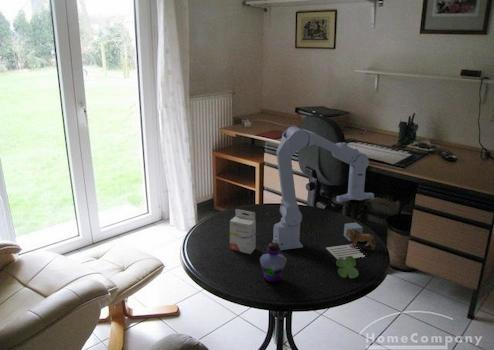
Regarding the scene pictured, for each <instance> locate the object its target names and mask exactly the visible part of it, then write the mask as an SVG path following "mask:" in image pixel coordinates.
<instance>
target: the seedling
mask: <svg viewBox="0 0 494 350" xmlns="http://www.w3.org/2000/svg"><path fill="white" fill-rule="evenodd" d="M335 264H336V266H337V267H338V269H337V274H338V275H339V276H340V277H341V278H347V277H349V278H350V279H355V278H357V277H358V276H359V274H360V273H359V270H358V269H357V268H356V265H357V262H356V258H353V257H351V256H347V257H346V260H345V259H343V258H338V259H336V262H335Z"/></svg>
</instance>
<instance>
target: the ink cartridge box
mask: <svg viewBox="0 0 494 350" xmlns="http://www.w3.org/2000/svg"><path fill="white" fill-rule="evenodd" d="M234 211H235V216H234V217H233V218H231V219H230V220H229V250H232V251H236V252H241V253H244V254H249V255H251V254H252V253H253V252H254V250H255V249H256V240H257V239H256V238H257V237H256V233H257V230H256V226H257V225H256V223H257V220H256V212H254V211H249V210H243V209H238V208H235V210H234ZM246 214H247V215H246Z"/></svg>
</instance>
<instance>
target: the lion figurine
mask: <svg viewBox="0 0 494 350" xmlns="http://www.w3.org/2000/svg"><path fill="white" fill-rule="evenodd" d="M346 236H347V237H348V238H349V239H350V240H351V241H350V242H351V244H352V245H354V246H353V247H354V248H355V247H356V245H357V243H358V242H366V241H367V243H366V244H364V246H365V247H368V246H371V248H370V249H372V250H371V251H374V250H375V248H378V245H376V242H375V237H374V236H373V235H372V234H370V233H362V234H361V233H359V232H358V231H357V230H355V229H353V228H349V229H347V231H346Z"/></svg>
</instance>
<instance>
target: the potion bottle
mask: <svg viewBox="0 0 494 350" xmlns="http://www.w3.org/2000/svg"><path fill="white" fill-rule="evenodd" d="M281 251H282V250H281V248H280V247H279V244H278V243H273V242H269V243H268V246H266V251H265V252H266V253H264V254H262V255H261V256H260V258H259V262H260V267H261V269H262V271H263V276H264V277H263V278H264V281H266V283H272V284H275V283H279V282H280V281H281V280H282V276H283V272H284V268H286V267H285V266H286V264H287V261H288V259H287V257H285V256H284V255H283V254H282V253H281Z"/></svg>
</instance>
